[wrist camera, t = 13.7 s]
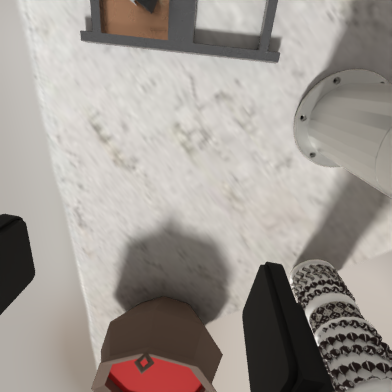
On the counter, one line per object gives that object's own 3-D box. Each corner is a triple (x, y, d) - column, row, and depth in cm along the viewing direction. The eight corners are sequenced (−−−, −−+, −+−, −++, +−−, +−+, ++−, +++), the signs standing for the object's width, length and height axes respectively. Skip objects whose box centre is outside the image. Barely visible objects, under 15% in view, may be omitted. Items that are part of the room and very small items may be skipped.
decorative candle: (308, 249, 42) (423, 442, 19) (348, 270, 44) (496, 471, 21) (277, 281, 46) (342, 475, 23) (314, 299, 47) (409, 497, 25)
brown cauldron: (220, 353, 57) (224, 449, 42) (122, 350, 58) (93, 441, 43) (222, 279, 46) (227, 371, 32) (103, 277, 48) (56, 365, 33)
